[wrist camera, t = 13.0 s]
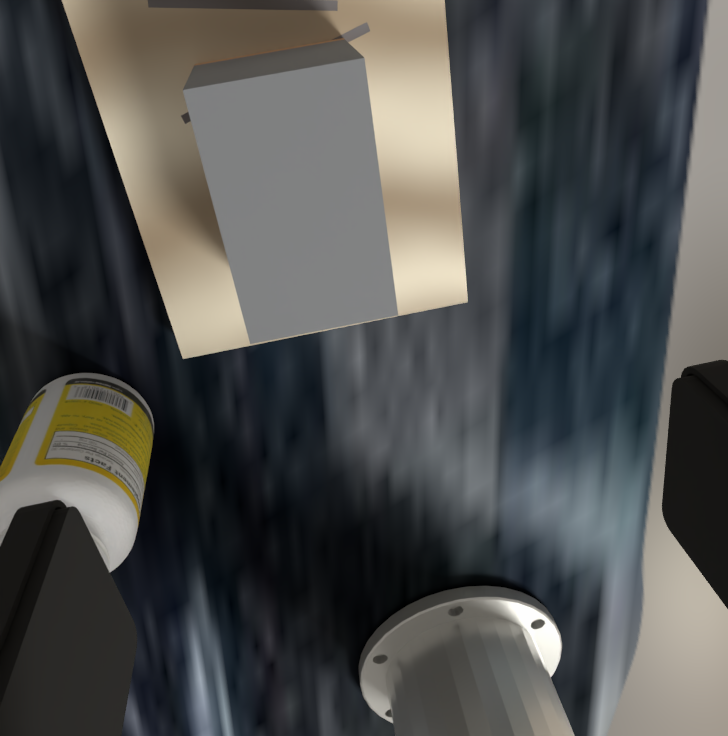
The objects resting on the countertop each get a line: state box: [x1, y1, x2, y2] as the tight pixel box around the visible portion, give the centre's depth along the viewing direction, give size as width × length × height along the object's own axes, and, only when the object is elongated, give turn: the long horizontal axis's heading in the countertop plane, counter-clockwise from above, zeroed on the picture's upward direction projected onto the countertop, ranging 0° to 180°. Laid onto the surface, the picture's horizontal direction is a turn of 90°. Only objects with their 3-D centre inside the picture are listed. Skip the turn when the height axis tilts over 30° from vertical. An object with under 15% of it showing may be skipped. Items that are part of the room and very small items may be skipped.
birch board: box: [62, 0, 468, 359], centre depth 24 cm, size 22×12×2 cm, turn 8°
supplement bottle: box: [0, 373, 154, 572], centre depth 27 cm, size 5×5×10 cm
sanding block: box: [183, 38, 398, 344], centre depth 23 cm, size 8×5×5 cm, turn 8°
